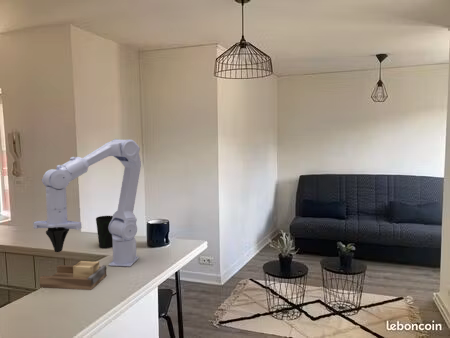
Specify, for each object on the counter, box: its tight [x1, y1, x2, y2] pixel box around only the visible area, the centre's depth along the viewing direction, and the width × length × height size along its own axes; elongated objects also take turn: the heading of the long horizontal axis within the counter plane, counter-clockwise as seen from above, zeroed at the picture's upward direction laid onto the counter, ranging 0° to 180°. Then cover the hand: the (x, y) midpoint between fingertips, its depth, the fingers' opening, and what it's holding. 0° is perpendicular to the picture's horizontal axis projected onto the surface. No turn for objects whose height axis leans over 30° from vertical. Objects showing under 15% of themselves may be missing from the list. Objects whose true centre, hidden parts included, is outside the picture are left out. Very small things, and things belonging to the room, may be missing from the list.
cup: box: [95, 215, 113, 249], centre depth 152 cm, size 8×8×12 cm
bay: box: [39, 264, 107, 291], centre depth 116 cm, size 11×16×4 cm
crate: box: [73, 260, 100, 278], centre depth 116 cm, size 5×6×5 cm
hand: (58, 251), depth 116 cm, fingers closed
